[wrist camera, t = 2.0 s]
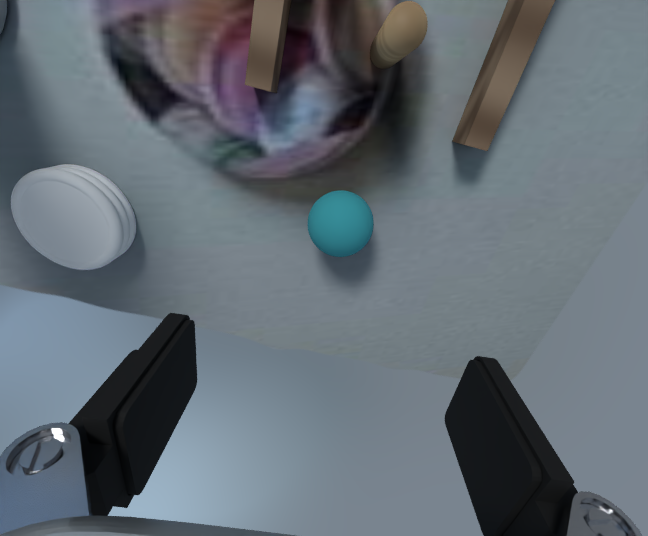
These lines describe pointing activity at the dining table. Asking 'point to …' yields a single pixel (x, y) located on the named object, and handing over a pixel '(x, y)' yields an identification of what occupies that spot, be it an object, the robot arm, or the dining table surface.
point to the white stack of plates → (73, 216)
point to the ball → (340, 223)
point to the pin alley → (491, 85)
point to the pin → (399, 34)
